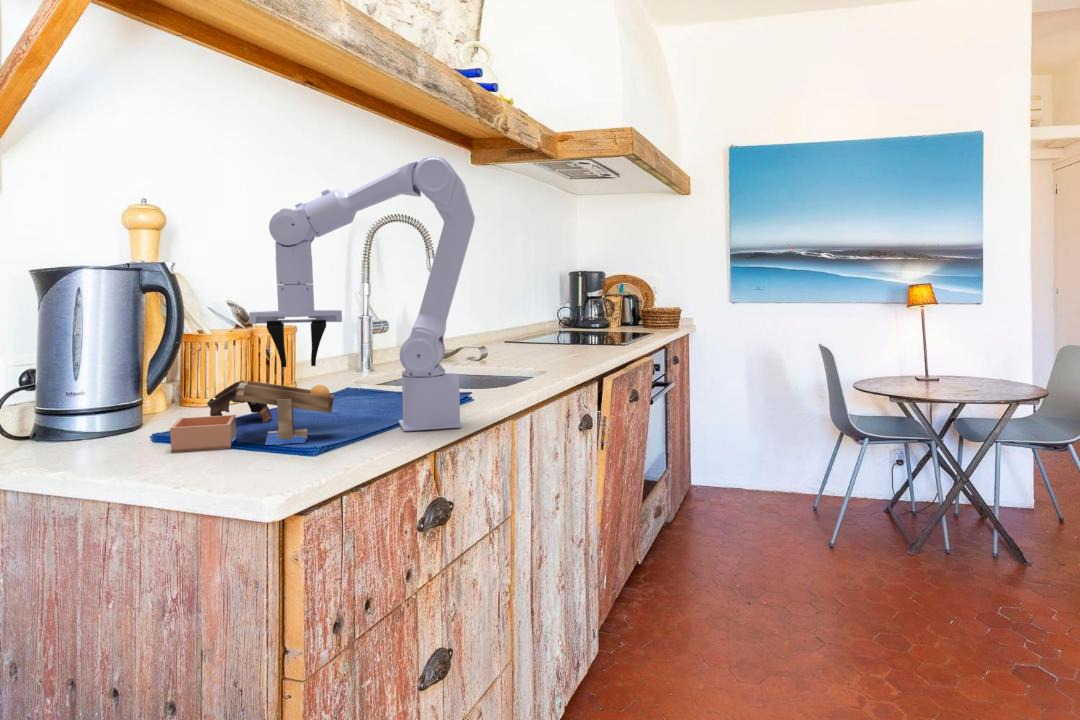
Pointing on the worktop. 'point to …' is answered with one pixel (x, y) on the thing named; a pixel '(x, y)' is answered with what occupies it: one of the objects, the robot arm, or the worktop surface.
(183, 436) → the open cardboard tray
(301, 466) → the worktop surface
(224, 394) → the dark brown bent piece
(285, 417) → the fulcrum stand
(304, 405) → the catapult lever
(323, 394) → the ball
